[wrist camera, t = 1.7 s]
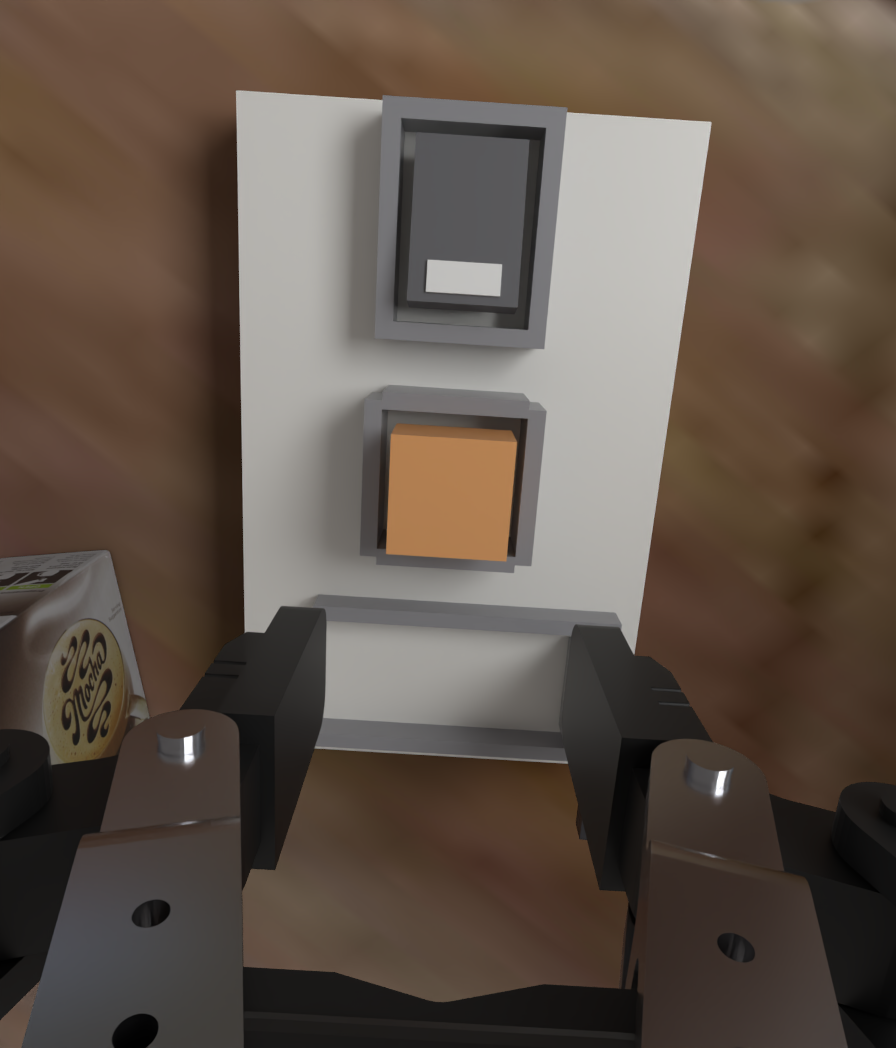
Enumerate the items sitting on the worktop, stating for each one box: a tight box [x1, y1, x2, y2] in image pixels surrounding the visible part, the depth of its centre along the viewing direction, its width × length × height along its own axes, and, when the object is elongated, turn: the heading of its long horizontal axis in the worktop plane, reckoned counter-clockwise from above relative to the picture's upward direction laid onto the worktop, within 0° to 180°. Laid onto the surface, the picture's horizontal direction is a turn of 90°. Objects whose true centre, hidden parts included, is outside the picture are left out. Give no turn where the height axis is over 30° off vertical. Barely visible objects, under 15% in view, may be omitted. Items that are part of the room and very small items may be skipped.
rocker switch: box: [407, 132, 530, 314], centre depth 24 cm, size 4×5×1 cm
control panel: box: [236, 90, 711, 764], centre depth 28 cm, size 16×25×6 cm, turn 176°
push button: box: [386, 423, 517, 562], centre depth 25 cm, size 4×4×2 cm
